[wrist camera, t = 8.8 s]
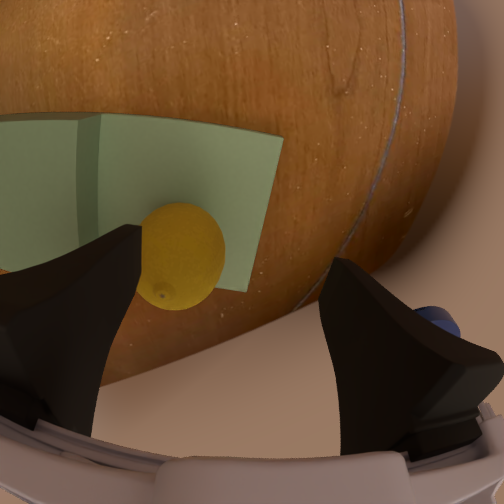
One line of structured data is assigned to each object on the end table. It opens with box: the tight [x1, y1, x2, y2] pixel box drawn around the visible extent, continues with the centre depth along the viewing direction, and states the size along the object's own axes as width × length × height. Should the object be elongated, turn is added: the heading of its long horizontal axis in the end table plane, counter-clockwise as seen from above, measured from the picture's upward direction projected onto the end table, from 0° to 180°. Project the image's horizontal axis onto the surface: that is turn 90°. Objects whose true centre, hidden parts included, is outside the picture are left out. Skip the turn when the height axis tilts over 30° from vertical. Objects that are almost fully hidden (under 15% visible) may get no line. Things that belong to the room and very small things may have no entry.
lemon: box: [136, 203, 225, 310], centre depth 17 cm, size 6×6×8 cm
